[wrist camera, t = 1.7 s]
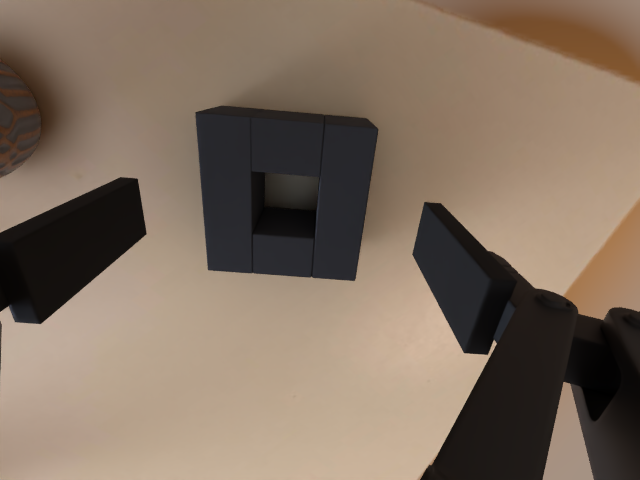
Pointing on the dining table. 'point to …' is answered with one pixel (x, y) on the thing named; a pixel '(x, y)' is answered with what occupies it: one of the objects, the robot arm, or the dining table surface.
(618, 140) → the dining table surface
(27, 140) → the vase
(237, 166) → the dark grey square frame
